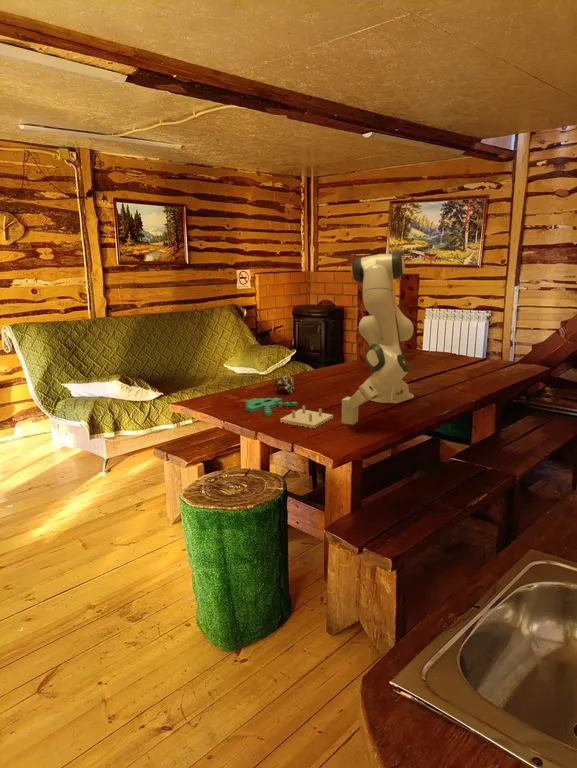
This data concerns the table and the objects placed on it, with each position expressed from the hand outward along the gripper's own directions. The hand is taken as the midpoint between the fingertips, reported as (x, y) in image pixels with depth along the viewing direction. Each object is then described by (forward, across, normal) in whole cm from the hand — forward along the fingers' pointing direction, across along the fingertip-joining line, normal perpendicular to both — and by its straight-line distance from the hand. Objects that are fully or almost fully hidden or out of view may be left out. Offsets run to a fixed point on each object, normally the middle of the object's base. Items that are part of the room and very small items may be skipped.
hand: (352, 406), depth 224 cm
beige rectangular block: (+6, 0, +4) cm, 7 cm away
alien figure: (+35, 0, -25) cm, 43 cm away
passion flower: (+40, -25, -30) cm, 57 cm away
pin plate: (+17, +7, -8) cm, 20 cm away
